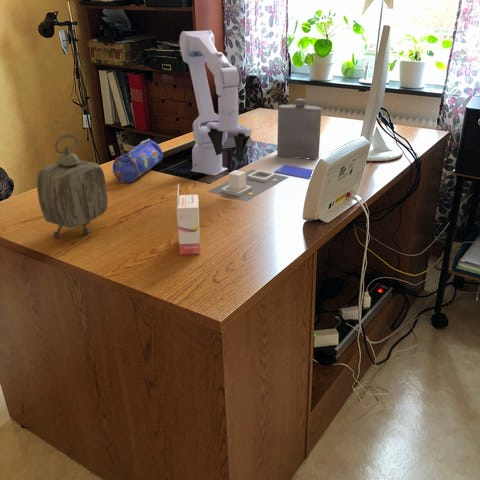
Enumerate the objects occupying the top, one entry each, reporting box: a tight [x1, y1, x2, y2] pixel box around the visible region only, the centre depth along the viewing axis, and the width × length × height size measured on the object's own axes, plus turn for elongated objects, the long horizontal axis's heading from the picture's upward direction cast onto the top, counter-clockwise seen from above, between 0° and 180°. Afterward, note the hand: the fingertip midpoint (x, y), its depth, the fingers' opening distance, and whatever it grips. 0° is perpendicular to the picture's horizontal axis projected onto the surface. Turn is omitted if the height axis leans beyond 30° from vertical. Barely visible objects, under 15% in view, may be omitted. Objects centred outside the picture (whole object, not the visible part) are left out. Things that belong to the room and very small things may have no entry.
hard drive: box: [273, 164, 314, 180], centre depth 174 cm, size 2×8×12 cm
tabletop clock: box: [36, 133, 109, 239], centre depth 130 cm, size 14×9×25 cm, turn 150°
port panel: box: [207, 169, 289, 202], centre depth 165 cm, size 14×24×2 cm, turn 146°
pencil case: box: [112, 138, 164, 184], centre depth 174 cm, size 22×9×10 cm, turn 164°
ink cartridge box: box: [176, 183, 201, 256], centre depth 125 cm, size 9×5×15 cm, turn 5°
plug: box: [228, 169, 247, 192], centre depth 159 cm, size 4×4×6 cm
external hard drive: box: [222, 132, 254, 150], centre depth 205 cm, size 13×19×4 cm
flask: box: [276, 98, 322, 160], centre depth 187 cm, size 15×6×20 cm, turn 73°
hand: (229, 156), depth 161 cm, fingers open, 7 cm apart
